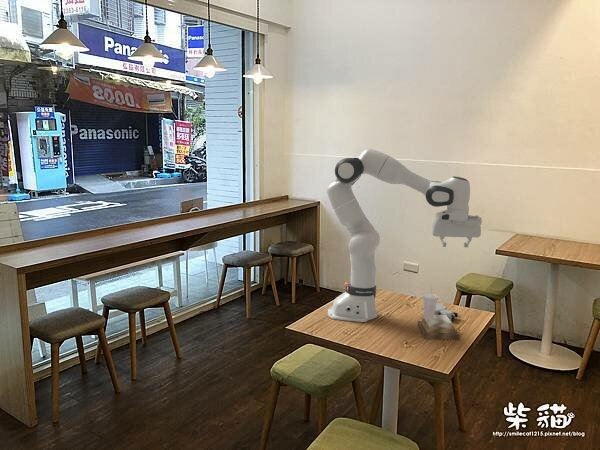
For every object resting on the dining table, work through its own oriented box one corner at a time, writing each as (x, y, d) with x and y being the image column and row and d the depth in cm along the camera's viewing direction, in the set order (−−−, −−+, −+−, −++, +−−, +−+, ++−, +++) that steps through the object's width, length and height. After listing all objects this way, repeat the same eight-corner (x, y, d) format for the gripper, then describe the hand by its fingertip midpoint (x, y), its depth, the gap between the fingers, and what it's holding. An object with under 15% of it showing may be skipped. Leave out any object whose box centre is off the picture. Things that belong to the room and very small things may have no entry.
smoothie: (439, 317, 207) (441, 285, 204) (432, 322, 202) (435, 289, 199) (424, 314, 211) (427, 282, 208) (418, 318, 206) (420, 286, 203)
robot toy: (462, 322, 222) (437, 309, 234) (463, 312, 221) (438, 300, 233) (443, 327, 215) (418, 313, 228) (444, 317, 214) (419, 304, 227)
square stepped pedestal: (424, 338, 200) (425, 324, 199) (417, 325, 214) (418, 312, 213) (459, 339, 200) (460, 325, 199) (449, 326, 214) (450, 313, 213)
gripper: (479, 214, 213) (476, 245, 215) (431, 213, 213) (429, 244, 216) (484, 216, 207) (481, 249, 209) (435, 215, 207) (433, 248, 210)
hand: (454, 246), depth 212 cm, fingers open, 8 cm apart
